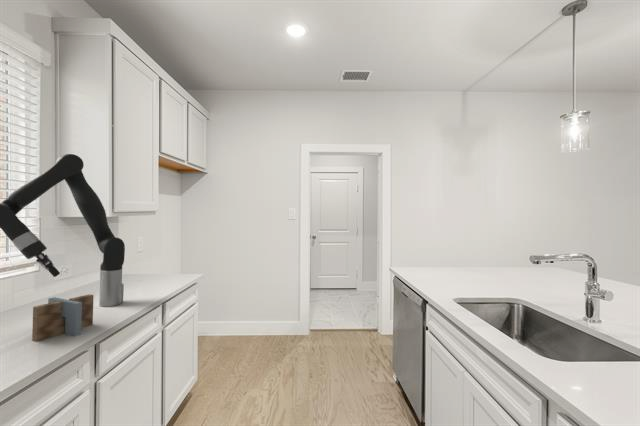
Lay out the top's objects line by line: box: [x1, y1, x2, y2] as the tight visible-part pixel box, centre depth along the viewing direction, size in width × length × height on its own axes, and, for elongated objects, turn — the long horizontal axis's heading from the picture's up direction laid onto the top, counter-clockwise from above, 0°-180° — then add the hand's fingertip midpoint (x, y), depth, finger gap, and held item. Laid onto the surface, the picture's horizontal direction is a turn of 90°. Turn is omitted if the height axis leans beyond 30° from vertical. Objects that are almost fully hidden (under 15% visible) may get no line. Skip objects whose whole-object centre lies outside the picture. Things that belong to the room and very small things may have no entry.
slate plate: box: [47, 296, 82, 337], centre depth 127 cm, size 2×16×12 cm, turn 69°
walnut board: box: [31, 293, 95, 342], centre depth 127 cm, size 20×2×12 cm, turn 159°
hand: (57, 275), depth 142 cm, fingers open, 8 cm apart
